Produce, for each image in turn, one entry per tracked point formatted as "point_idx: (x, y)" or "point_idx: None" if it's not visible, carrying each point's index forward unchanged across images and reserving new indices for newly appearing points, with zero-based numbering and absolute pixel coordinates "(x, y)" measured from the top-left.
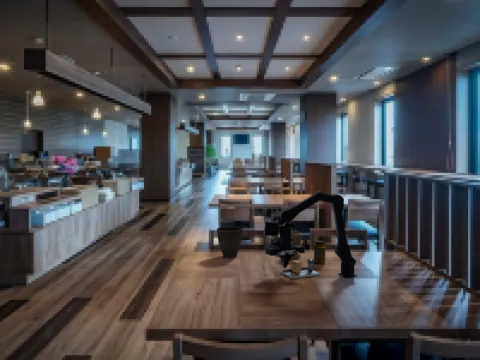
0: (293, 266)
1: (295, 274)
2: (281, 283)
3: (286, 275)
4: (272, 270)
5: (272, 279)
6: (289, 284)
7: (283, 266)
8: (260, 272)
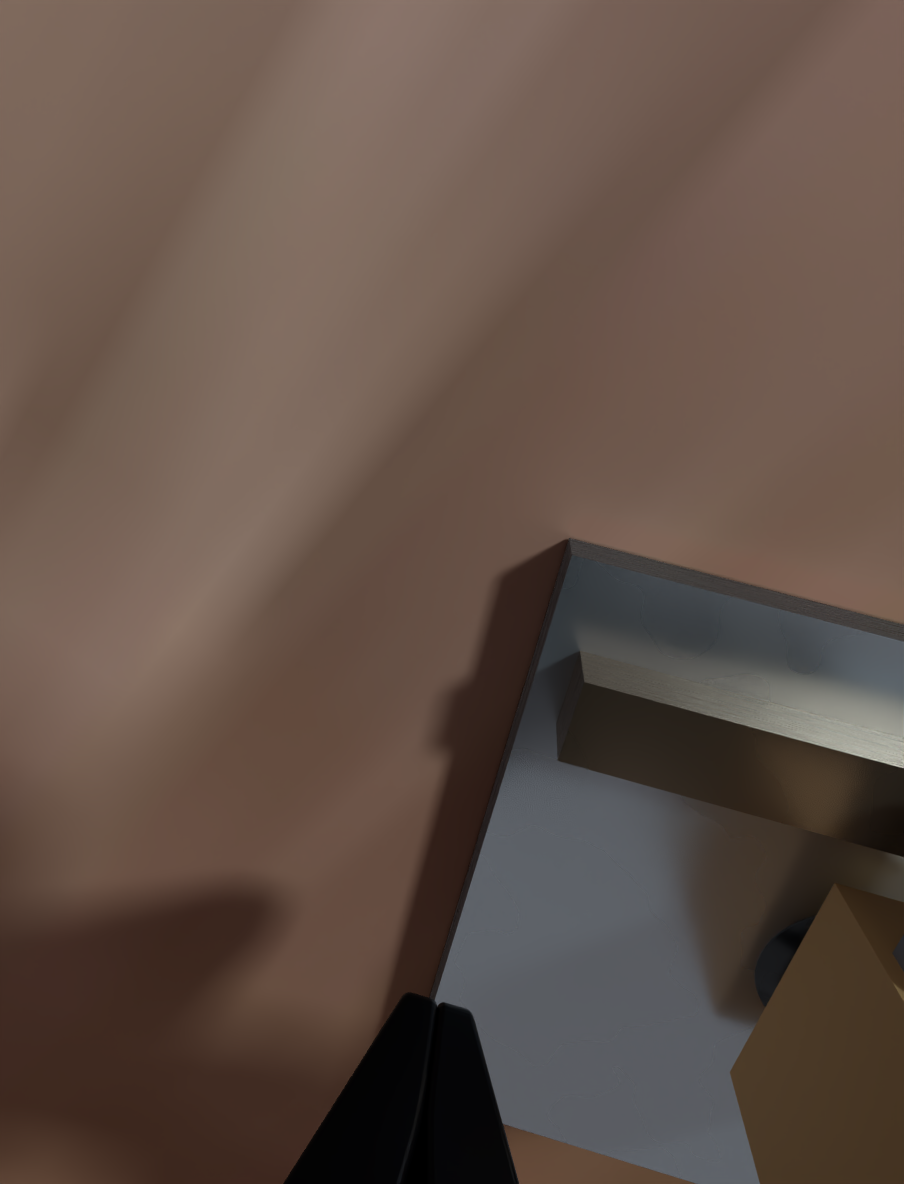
0: (883, 1128)
1: (658, 1052)
2: (69, 1067)
3: (463, 893)
4: (612, 61)
5: (39, 813)
6: (165, 1173)
7: (370, 1056)
8: (55, 27)
